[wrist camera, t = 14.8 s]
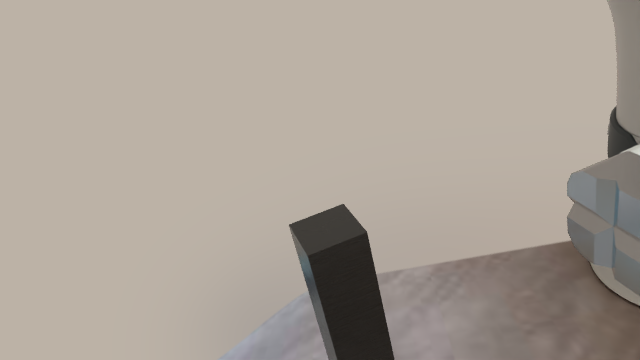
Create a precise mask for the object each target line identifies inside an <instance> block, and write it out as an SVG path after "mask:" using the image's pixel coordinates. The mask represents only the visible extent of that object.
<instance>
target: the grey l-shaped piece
mask: <svg viewBox="0 0 640 360" xmlns="http://www.w3.org/2000/svg"><path fill="white" fill-rule="evenodd" d="M289 227H290V230H291V234H292V237H293V241H294V244H295V247H296V251H297V254H298V257H299V260H300V264H301V267H302V271H303V274H304V277H305V281H306V284H307V288H308V291H309V294H310V298H311V301H312V305H313V308H314V311H315V315H316V318H317V321H318V325H319V328H320V331H321V335H322V338H323V342H324V345H325V348H326V352H327V355H328V358H329V360H394V355H393V351H392V346H391V341H390V337H389V332H388V327H387V323H386V318H385V313H384V309H383V304H382V299H381V295H380V290H379V285H378V281H377V276H376V272H375V267H374V262H373V258H372V254H371V248H370V244H369V239H368V235H367V231H366V230H365V229H364V228H363V227H362V226H361V224H360V223H359V222H358V221H357V220H356V218H355V217H354V216H353V215H352V214H351V212H350V211H349V210H348V209H347V208H346V207H345V205H344V204H342V205H339V206H336V207H334V208H331V209H329V210H326V211H323V212H321V213H318V214H316V215H313V216H310V217H308V218H306V219H303V220H300V221H297V222H295V223H292V224H290V225H289Z"/></svg>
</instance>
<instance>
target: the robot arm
mask: <svg viewBox="0 0 640 360" xmlns="http://www.w3.org/2000/svg"><path fill="white" fill-rule="evenodd" d="M607 2H608V4H609V7H610V10H611V13H612V17H613V22H614V27H615V36H616V50H617V51H616V52H617V106H616V107H615V108H614V109H613V111H612V113H611V116H610V124H609V126H608V135H609V136H608V159H606V160H603V161H601V162H599V163H596V164H594V165H591V166H589V167H587V168H584V169H582V170H579V171H577V172H575V173H572V174H571V176H570V178H569V181H568V185H567V195H568V196H569V198H570V199H571V200H572V201H573V202H574V205H573V207H572V209H571V211H570V212H569V214H568V216H567V219H568V220H567V221H568V233H569V236H570V238H571V240H572V242H573V245H574V247H575V248H576V249H577V250H578V251H579V253H580V254H581V255H582V256H583V257H584V258H586V259H587V260H589V261H590V263H591V266H592V268H593V270H594V272H595V273H596V275H597V276H598V277H599V278H600V280H601V281H602V282H603V283H604V284H605V285H606V286H608V287H609V288H610V289H611V290H613V291H614V292H615V293H617V294H618V295H620V296H622V297H623V298H625V299H627V300H629V301H630V302H633V303H635V304H637V305H639V306H640V0H607Z"/></svg>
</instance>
